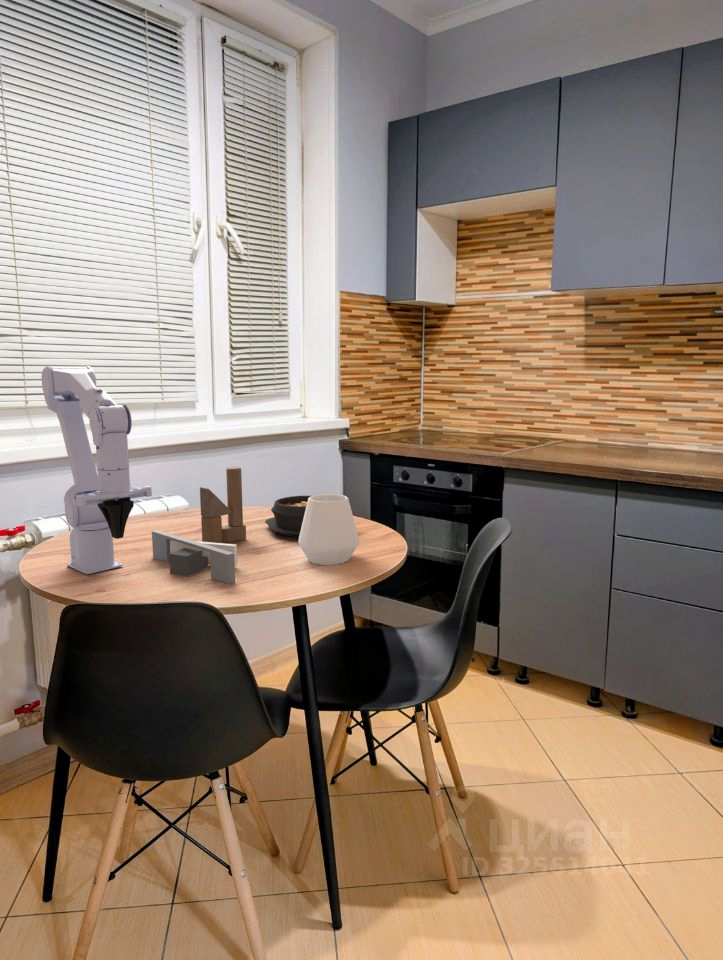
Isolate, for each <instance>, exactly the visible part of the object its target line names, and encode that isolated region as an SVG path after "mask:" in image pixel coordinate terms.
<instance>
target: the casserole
mask: <svg viewBox="0 0 723 960" xmlns="http://www.w3.org/2000/svg"><path fill="white" fill-rule="evenodd" d="M311 496H312V495H296V496H295V495H292V496H287V497H286V496H285V497H281V498H279V499H276V500H275V501H274V504H273V507H271V509H270V511H271V512H272V514H273V517H270V518H268V519H265V521H264V523H265V524H266V525H267V527H268V529H269V530H271V531H273V532H275V533H277V534H278V533H279V534H281V535H284V536H287V537H293V538H294V537H295V538H299V535H300V531H301V527H302V523H303V518H304V514H305V510H306V506H307V502H308V498H309V497H311Z"/></svg>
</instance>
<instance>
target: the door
mask: <svg viewBox="0 0 723 960" xmlns="http://www.w3.org/2000/svg"><path fill="white" fill-rule="evenodd" d="M195 541H196V540H195ZM196 542H199V543H203V544H206V545H209V546H213V547H216V548H219V549H223V550H226V551H229V552H233V553H234V561H235V568H236V567H237V566H238V544H236V543H235V544H234V543H212V542H202V541H200V540H199V541H198V540H197V541H196ZM183 548H189V549H197V550H202V549H199V548H195V547H192V546H189V545H186V544H183V543H179V542H176V541H173V540H170V552H171V553H173V552H175V551H178V550H180V549H183ZM202 556H205V557H208V566H209V565H210V552H208V551H205V550H202Z"/></svg>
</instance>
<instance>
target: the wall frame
mask: <svg viewBox="0 0 723 960" xmlns="http://www.w3.org/2000/svg"><path fill="white" fill-rule="evenodd" d="M170 540H173V541H176V542H179V543H183V544H186V545H189V546H192V547H195V548H199V549H202V550H205V551H208V552H210V578H211V579H212V580H216V581H219V582H221V583H224V584H227V585H231V584H234V583H236V569H235V568H236V567H235V561H234V553H233V552H229V551H226V550H223V549H219V548H216V547H213V546H209V545H206V544H203V543H199V542H196V540H193V539H189V538H185V537H183V536H179V535H176V534H172V533H170V532H166V531H163V530H160V529H156V530H152V531H151V543H152V557H153V558H154V559H157V560H160V561H162V562H165V563H170V562H169V554H170V553H171V552H170Z"/></svg>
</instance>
